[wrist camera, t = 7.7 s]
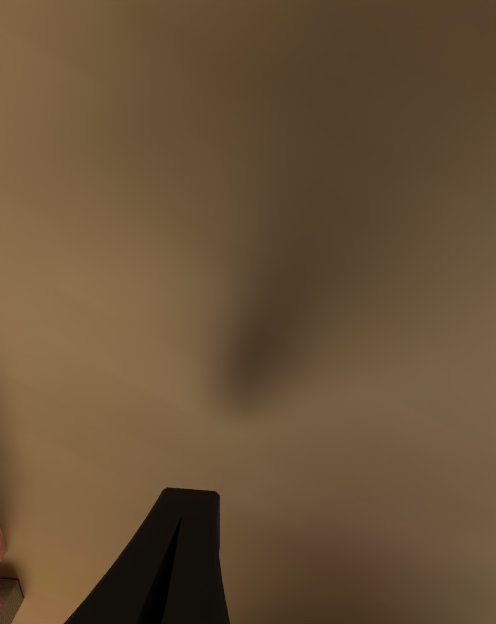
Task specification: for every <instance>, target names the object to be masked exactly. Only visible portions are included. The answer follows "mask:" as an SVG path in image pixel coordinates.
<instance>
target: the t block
mask: <svg viewBox="0 0 496 624" xmlns="http://www.w3.org/2000/svg"><path fill="white" fill-rule="evenodd" d="M6 552H7V548H6V544H5V541H4V537H3V534H2V530H1V527H0V562H1V560H2V559H3V557H4V555H5V554H6Z"/></svg>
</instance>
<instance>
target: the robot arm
mask: <svg viewBox="0 0 496 624" xmlns="http://www.w3.org/2000/svg"><path fill="white" fill-rule="evenodd" d="M219 549H220V495H219V494H218V493H217V492H216V491H206V490H193V489H181V488H168V487H167V488H165V489H164V490H163V491H162V493H161V494H160V496H159V498H158V499H157V501H156V503H155V504H154V506H153V508H152V509H151V511H150V512H149V514H148V516H147V517H146V519H145V520H144V522H143V523H142V525H141V526H140V528H139V529H138V530H137V532H136V533H135V535H134V536H133V538H132V539H131V540H130V542H129V543H128V545H127V546H126V547H125V549H124V550H123V551H122V553H121V554H120V556H119V557H118V558H117V560H116V561H115V562H114V564H113V565H112V566H111V568H110V569H109V570H108V571H107V573H106V574H105V575H104V576H103V578H102V579H101V580H100V581H99V583H98V584H97V585H96V586H95V588H94V589H93V590H92V591H91V593H90V594H89V595H88V596H87V598H86V599H85V600H84V601H83V602H82V603H81V605H80V606H79V607H78V608H77V609H76V610H75V612H74V613H73V614H72V615H71V616H70V617H69V618H68V620H67V621H66V622H65V623H64V624H230V621H229V616H228V611H227V606H226V600H225V595H224V589H223V583H222V576H221V568H220V560H219Z"/></svg>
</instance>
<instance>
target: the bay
mask: <svg viewBox="0 0 496 624" xmlns="http://www.w3.org/2000/svg"><path fill="white" fill-rule="evenodd" d="M22 602H23V597H22V593H21V589H20V586H19V582H18V580H12V579H1V578H0V624H11V623H12V621H13V619H14V617H15V615H16V613H17V612H18V610H19V608H20V606H21V604H22Z"/></svg>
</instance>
